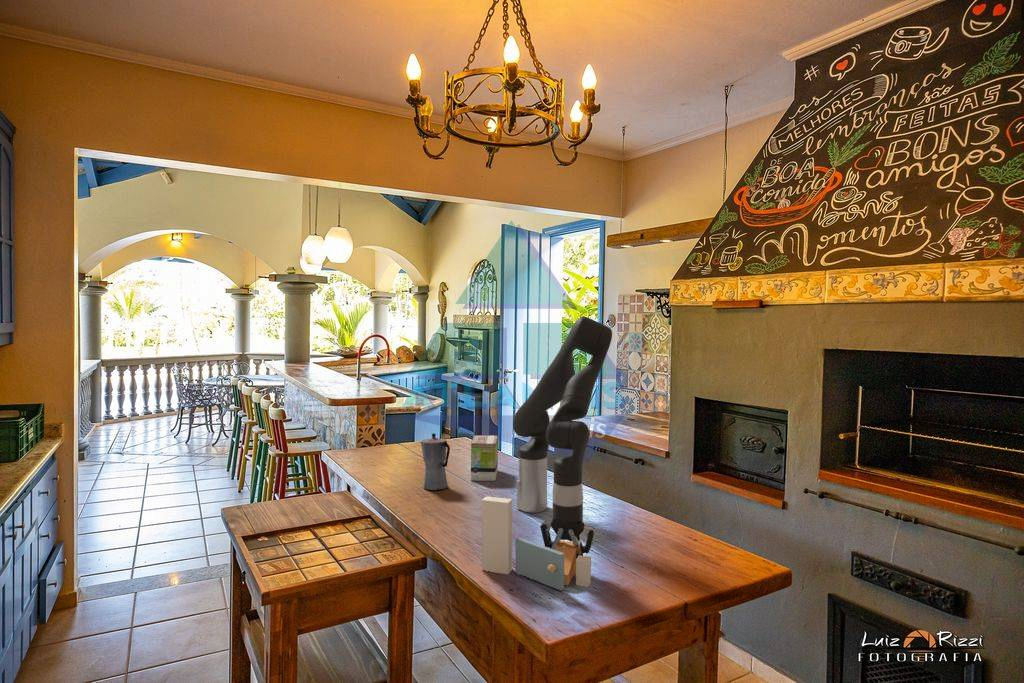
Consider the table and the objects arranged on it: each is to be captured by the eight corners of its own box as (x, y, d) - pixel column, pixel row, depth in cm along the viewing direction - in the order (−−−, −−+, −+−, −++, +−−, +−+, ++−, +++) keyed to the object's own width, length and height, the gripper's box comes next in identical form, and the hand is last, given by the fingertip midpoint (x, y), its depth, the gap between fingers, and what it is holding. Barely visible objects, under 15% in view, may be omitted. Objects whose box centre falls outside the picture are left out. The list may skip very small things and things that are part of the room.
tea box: (496, 481, 220) (496, 443, 219) (470, 481, 220) (469, 443, 219) (498, 470, 235) (498, 434, 234) (473, 470, 235) (473, 434, 234)
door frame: (482, 570, 145) (481, 500, 144) (486, 565, 148) (486, 496, 147) (588, 586, 136) (588, 511, 135) (590, 581, 139) (591, 507, 138)
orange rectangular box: (568, 585, 136) (568, 560, 135) (547, 581, 137) (548, 557, 137) (578, 566, 146) (579, 543, 146) (559, 563, 148) (560, 540, 147)
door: (511, 574, 141) (511, 540, 141) (518, 570, 143) (518, 537, 143) (557, 592, 132) (557, 556, 132) (564, 588, 134) (564, 553, 134)
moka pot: (432, 480, 221) (431, 429, 220) (460, 488, 211) (460, 434, 210) (413, 486, 213) (412, 433, 212) (441, 495, 204) (441, 439, 203)
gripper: (535, 501, 142) (535, 568, 144) (593, 508, 138) (592, 576, 139) (544, 491, 149) (544, 555, 151) (599, 497, 145) (598, 563, 146)
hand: (567, 565), depth 145 cm, fingers closed on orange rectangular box, 5 cm apart
